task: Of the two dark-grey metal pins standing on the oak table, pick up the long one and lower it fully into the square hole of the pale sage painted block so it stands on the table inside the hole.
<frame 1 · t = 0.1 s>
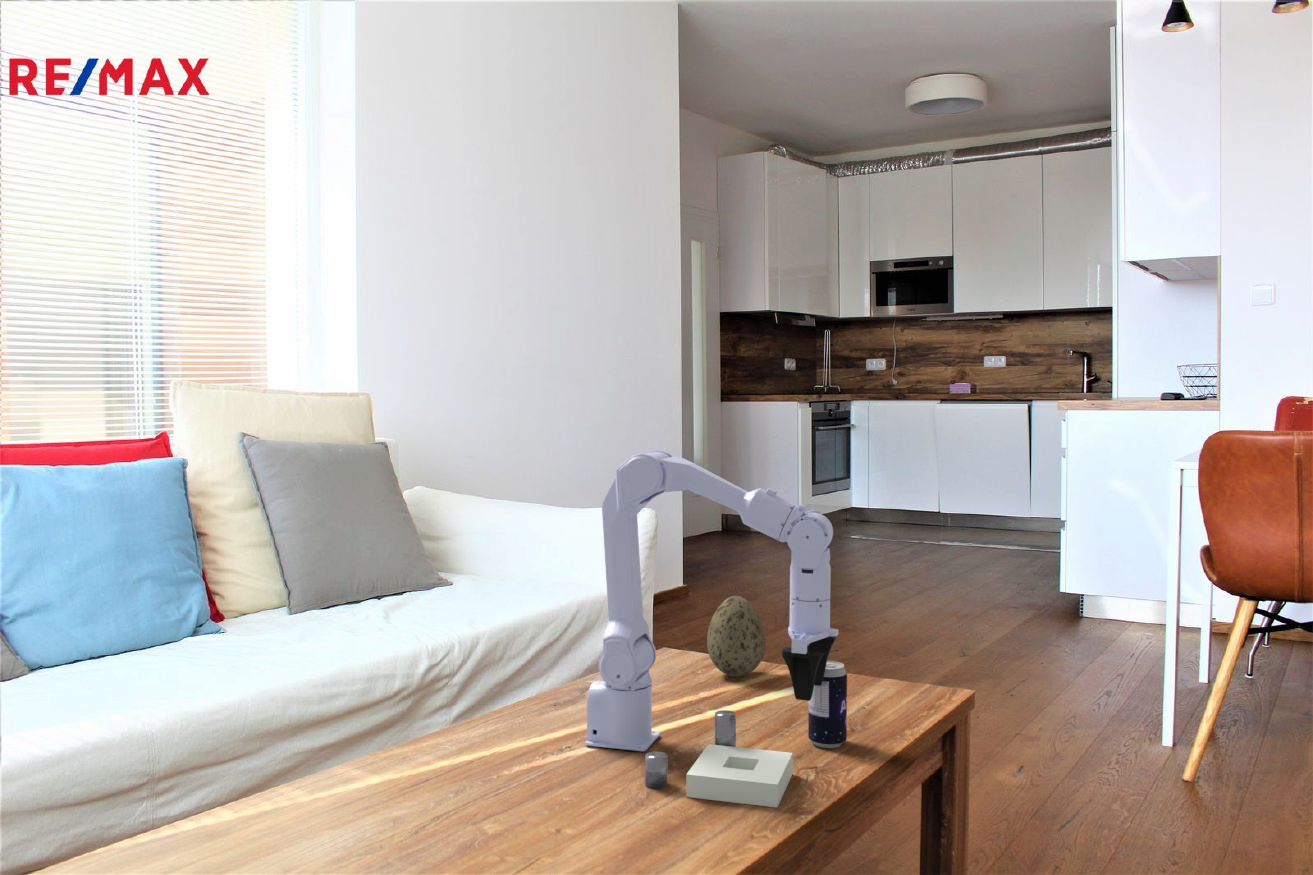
hand: (808, 691, 147), 10 cm above the table, fingers open, 7 cm apart
beverage can: (827, 744, 155), on the table
long pin: (725, 761, 148), on the table
decorative egg: (736, 677, 192), on the table
hole block: (740, 785, 139), on the table
short pin: (656, 784, 139), on the table
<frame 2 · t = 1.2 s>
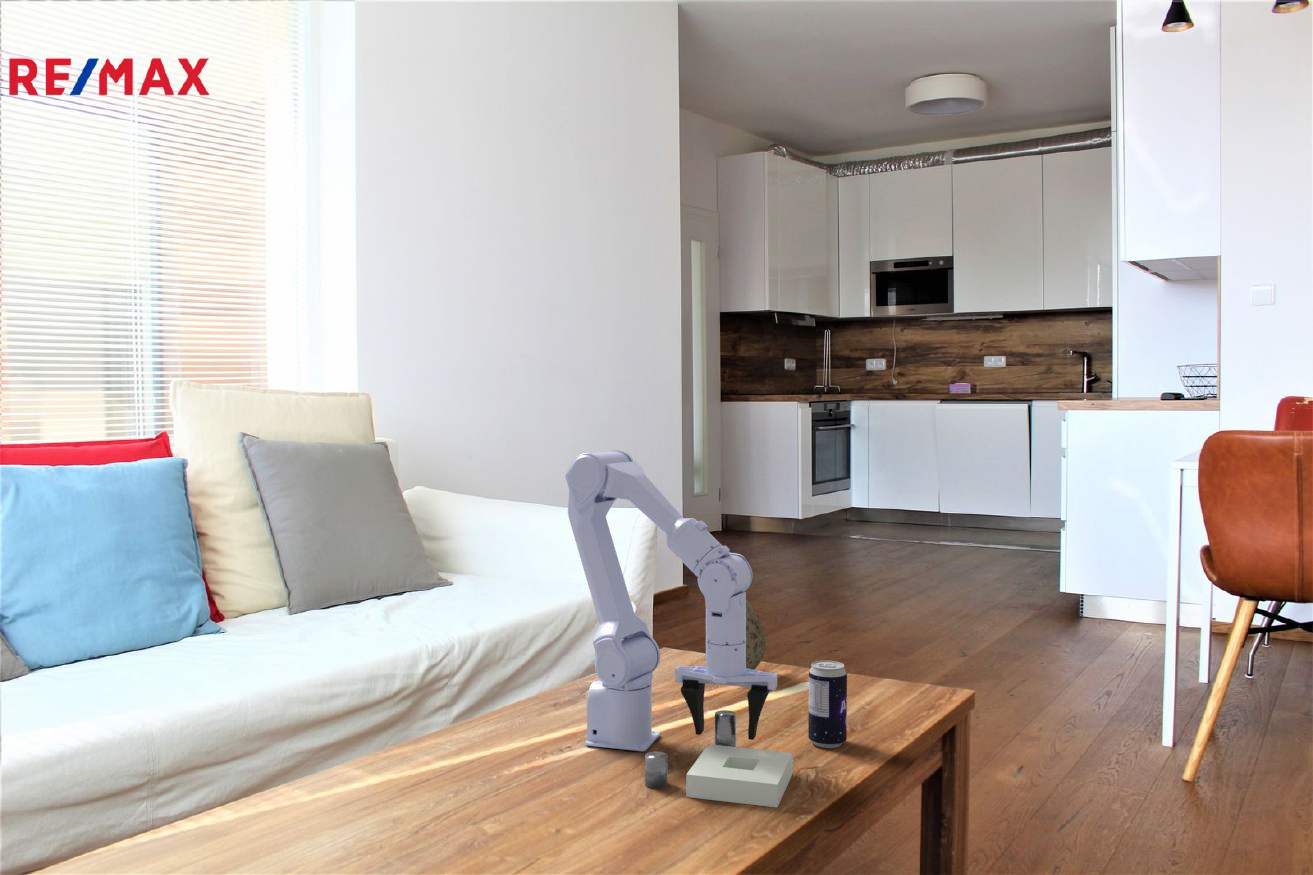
hand: (725, 735, 147), 4 cm above the table, fingers open, 7 cm apart
nothing on the table moved.
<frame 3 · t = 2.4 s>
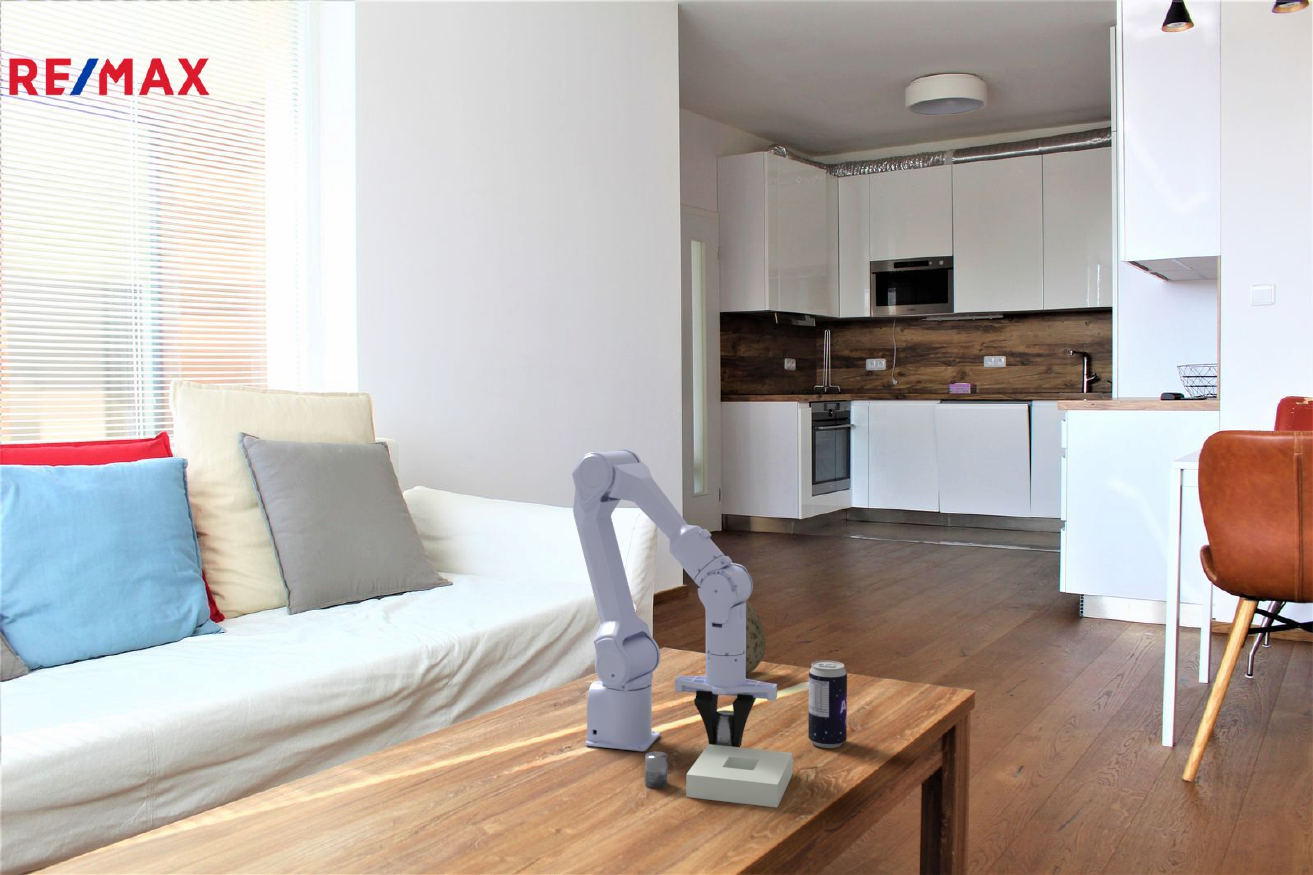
hand: (725, 745, 147), 2 cm above the table, fingers closed on long pin, 3 cm apart
long pin: (725, 761, 148), on the table, touching gripper
everything else where it was.
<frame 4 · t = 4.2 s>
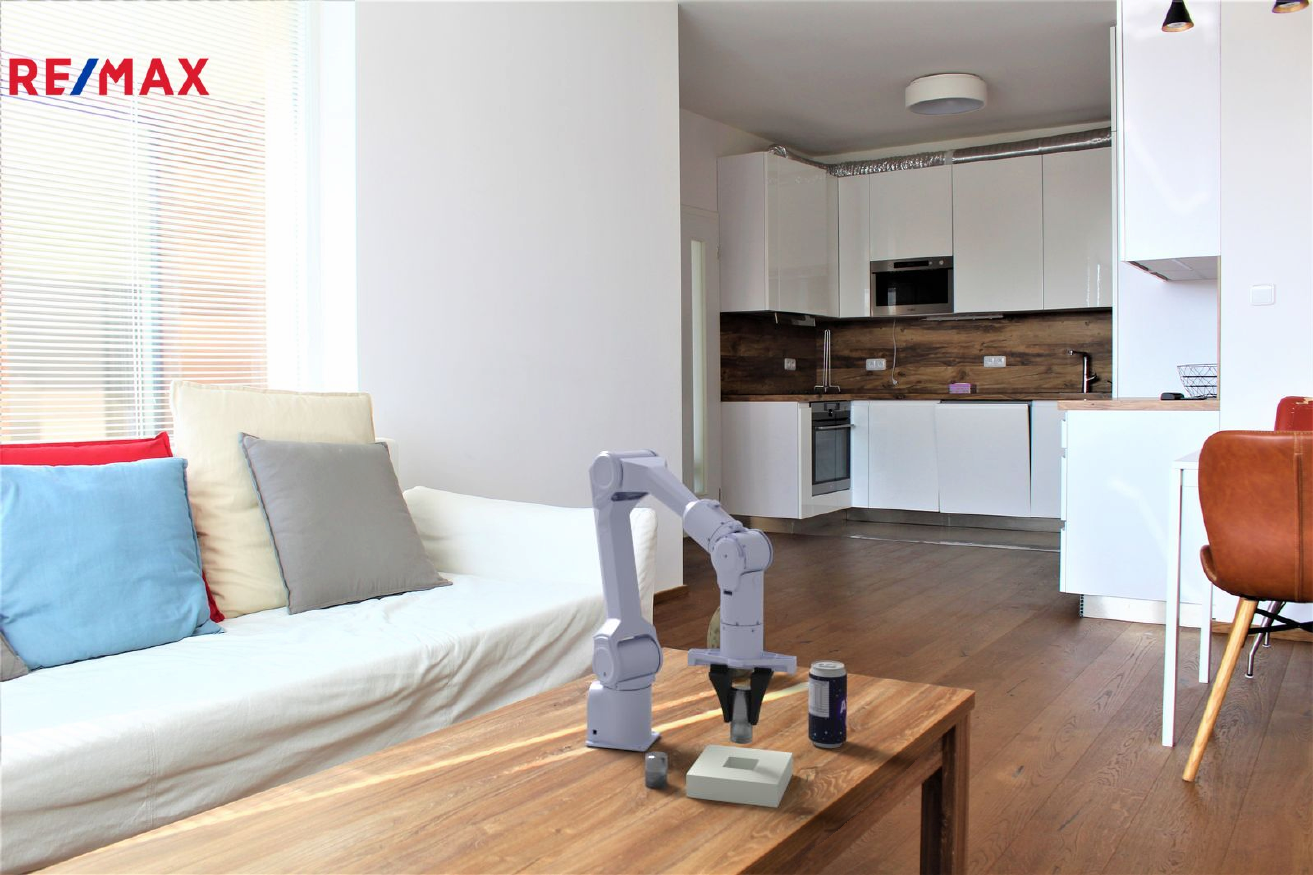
hand: (741, 721, 138), 9 cm above the table, fingers closed on long pin, 3 cm apart
long pin: (741, 740, 139), point 6 cm above the table, touching gripper
everything else where it was.
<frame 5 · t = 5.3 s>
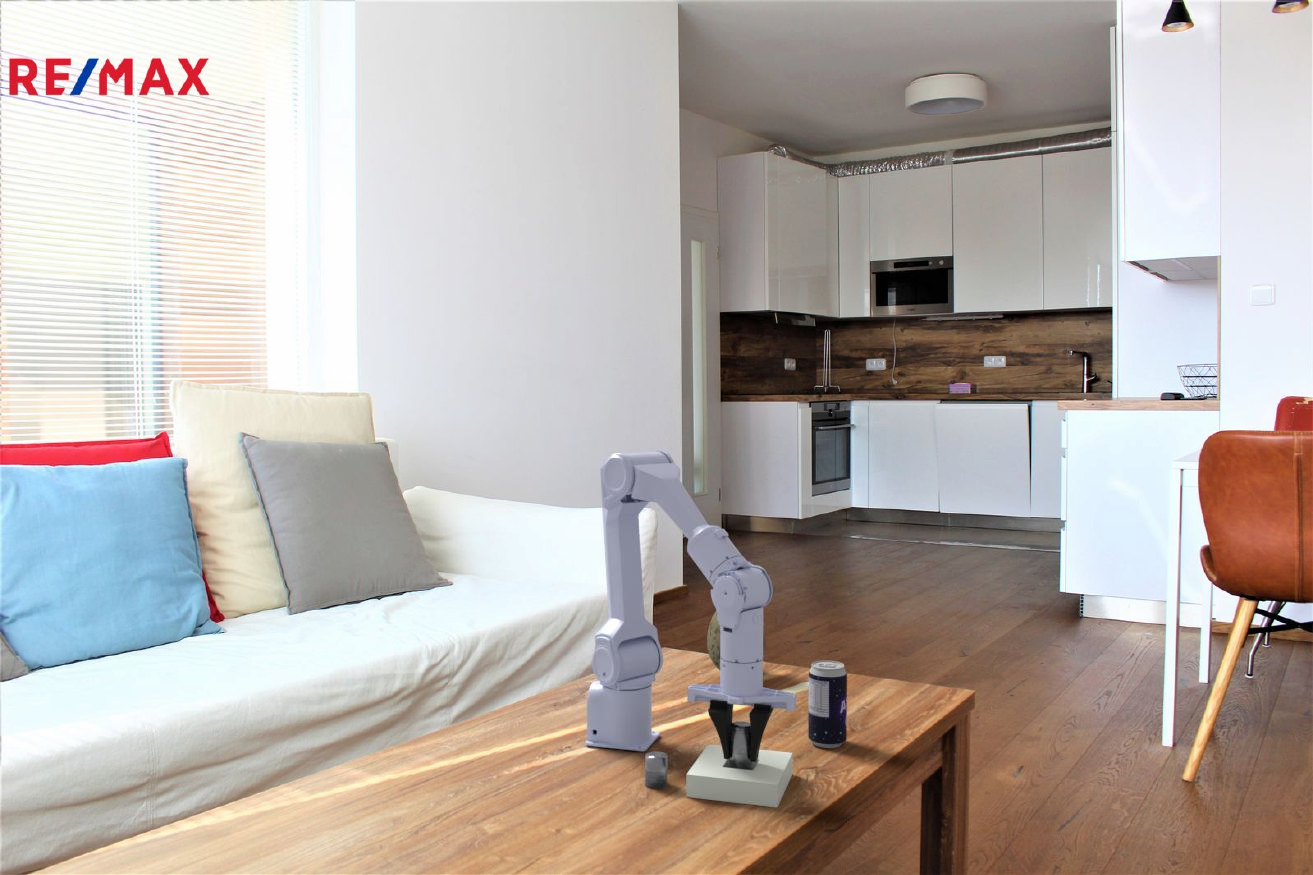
hand: (741, 758, 139), 4 cm above the table, fingers closed on long pin, 3 cm apart
long pin: (741, 776, 139), point 1 cm above the table, touching gripper
everything else where it was.
when the fingers open (4 cm above the table, at t = 5.9 s): long pin drops 1 cm, resting in hole block.
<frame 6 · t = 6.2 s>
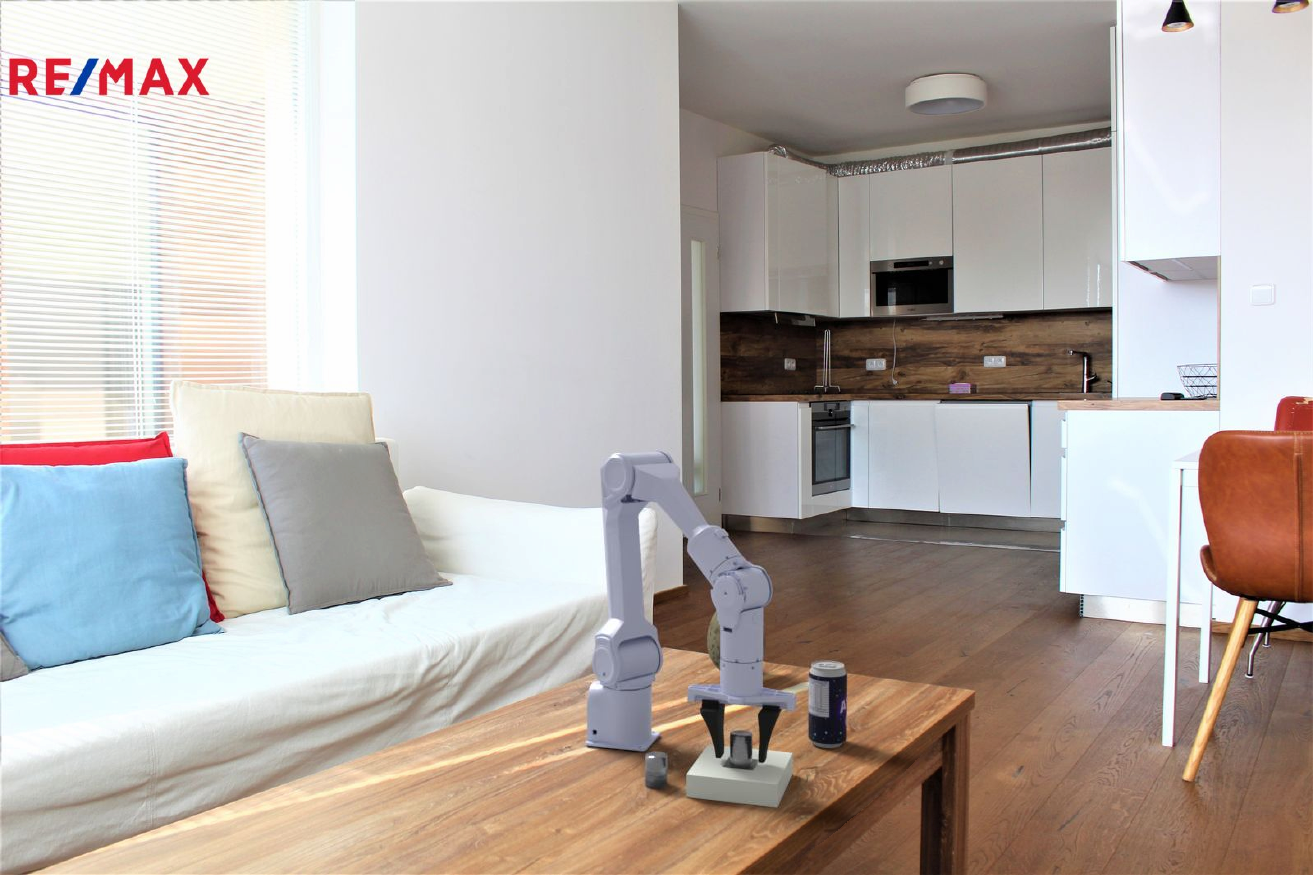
hand: (741, 758, 139), 4 cm above the table, fingers open, 5 cm apart
long pin: (741, 785, 139), resting in hole block
everything else where it was.
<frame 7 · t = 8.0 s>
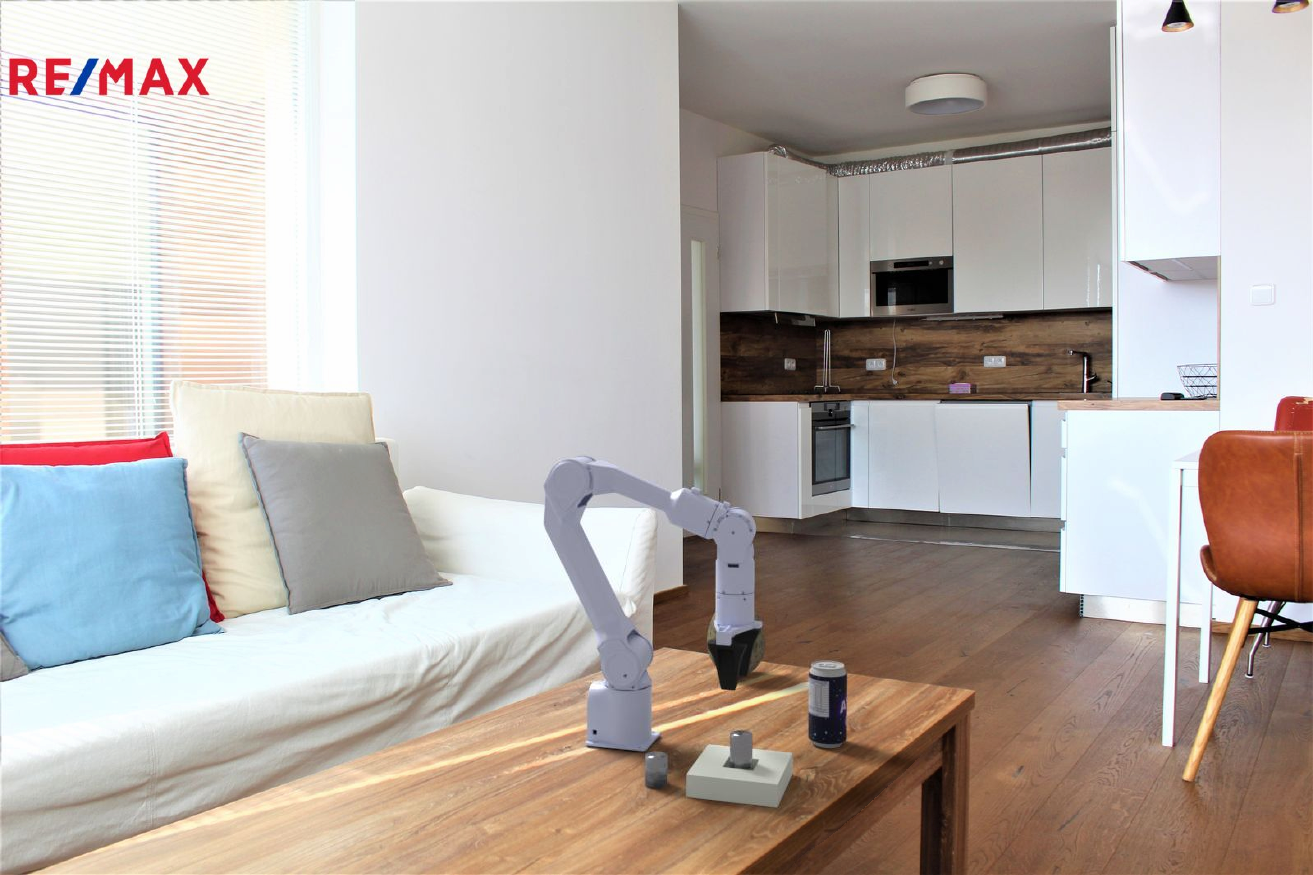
hand: (734, 682, 153), 10 cm above the table, fingers open, 7 cm apart
nothing on the table moved.
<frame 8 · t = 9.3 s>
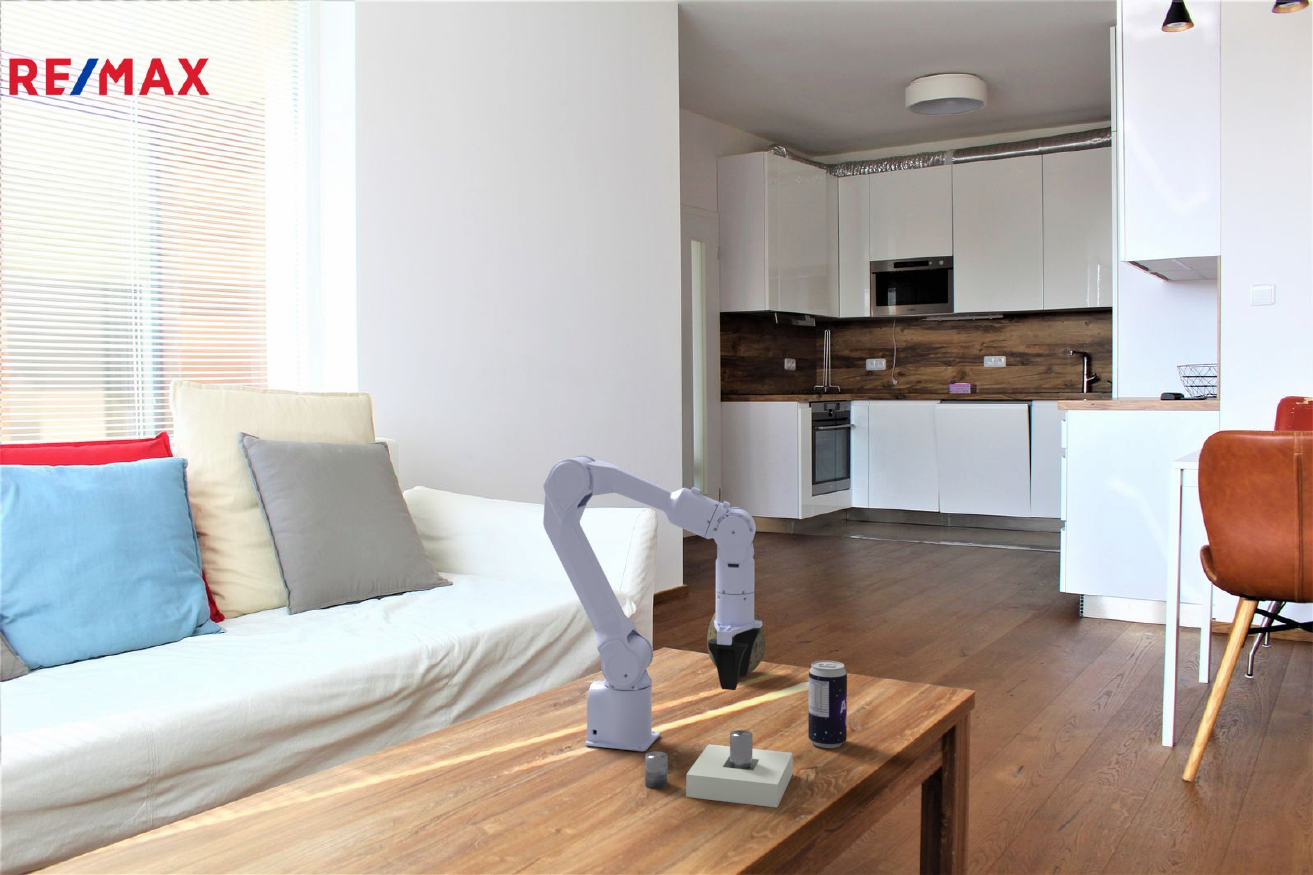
hand: (734, 682, 153), 10 cm above the table, fingers open, 7 cm apart
nothing on the table moved.
at the end: long pin 0.1 cm off-centre on the hole block, point 0.0 cm above the hole block's base; long pin tilted 0°; the gripper is holding nothing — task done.
